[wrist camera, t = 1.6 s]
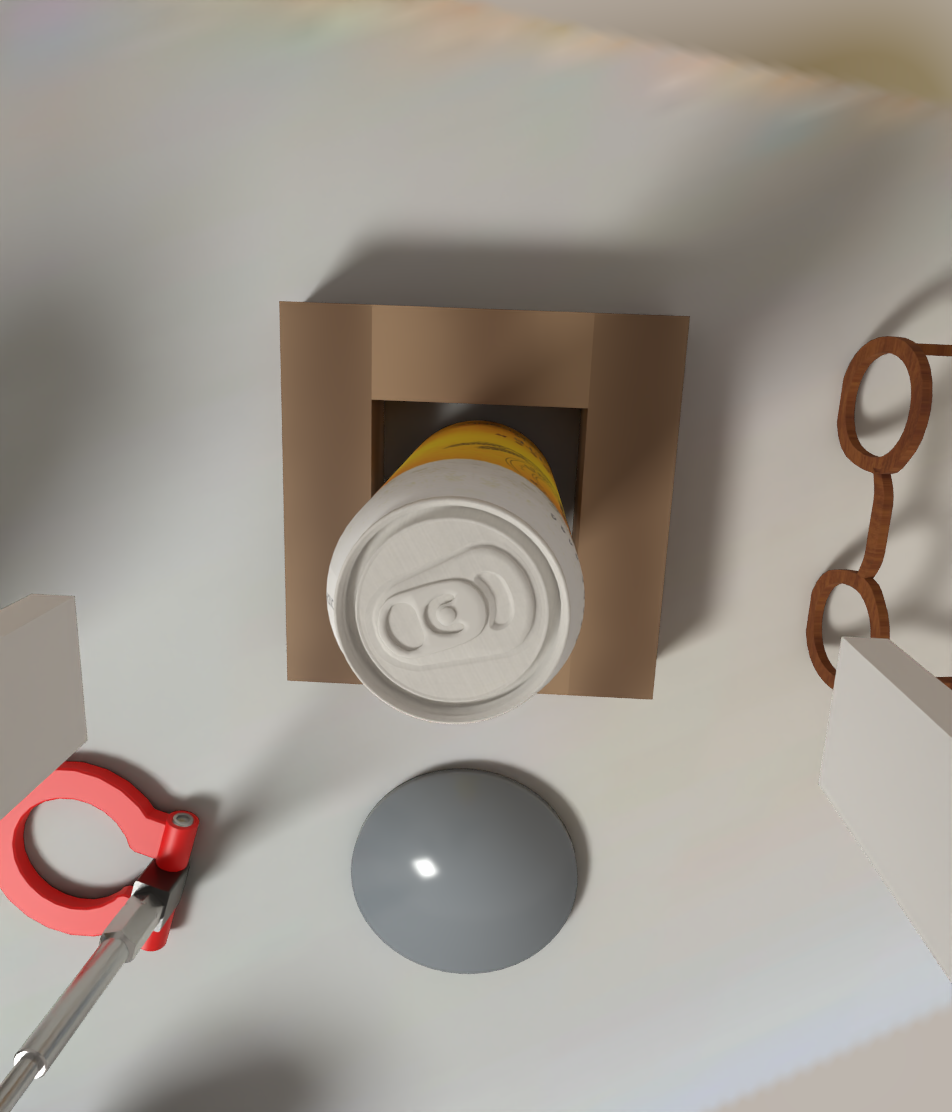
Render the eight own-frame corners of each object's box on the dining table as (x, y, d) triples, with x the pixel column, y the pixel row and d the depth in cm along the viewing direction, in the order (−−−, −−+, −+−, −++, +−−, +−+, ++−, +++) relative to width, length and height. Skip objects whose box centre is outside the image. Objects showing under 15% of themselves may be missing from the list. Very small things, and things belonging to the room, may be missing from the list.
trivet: (353, 957, 38) (351, 966, 38) (353, 762, 36) (350, 769, 35) (568, 971, 38) (569, 980, 38) (584, 775, 36) (585, 782, 35)
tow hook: (-16, 885, 39) (170, 950, 39) (-283, 1132, 26) (-11, 1228, 26) (16, 730, 37) (212, 798, 37) (-257, 919, 24) (38, 1022, 24)
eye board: (306, 652, 35) (287, 680, 32) (300, 305, 31) (279, 301, 28) (640, 669, 34) (652, 699, 31) (673, 319, 31) (689, 316, 28)
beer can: (574, 544, 33) (621, 699, 19) (431, 587, 34) (369, 770, 19) (529, 397, 32) (542, 442, 17) (381, 446, 33) (274, 528, 18)
